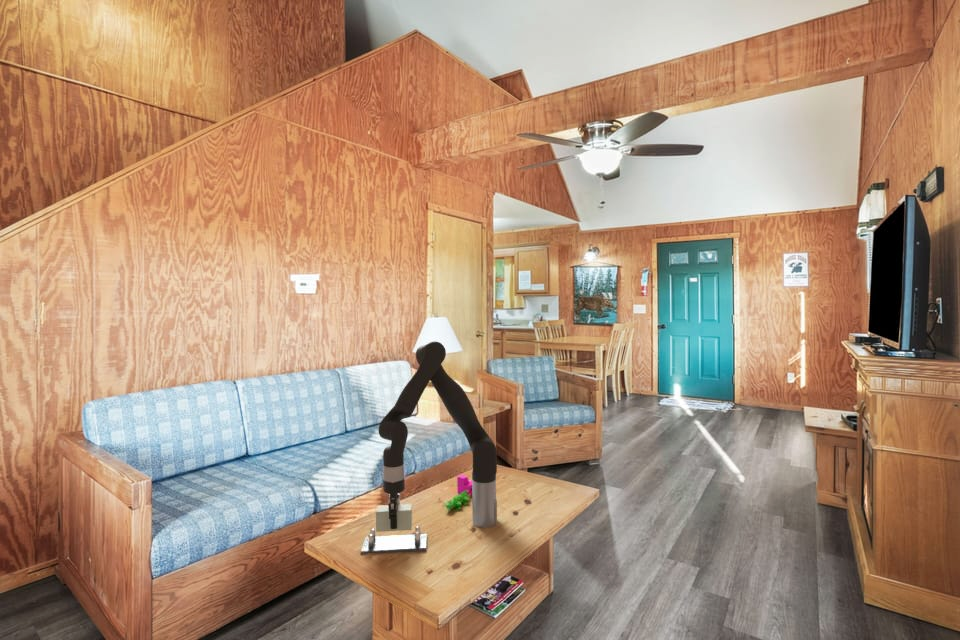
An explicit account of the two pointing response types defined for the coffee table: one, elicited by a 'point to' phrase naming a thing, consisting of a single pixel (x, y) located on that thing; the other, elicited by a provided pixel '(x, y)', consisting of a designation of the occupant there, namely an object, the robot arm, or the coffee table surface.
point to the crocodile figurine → (458, 501)
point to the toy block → (464, 485)
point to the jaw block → (402, 520)
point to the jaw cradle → (394, 543)
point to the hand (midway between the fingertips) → (394, 524)
